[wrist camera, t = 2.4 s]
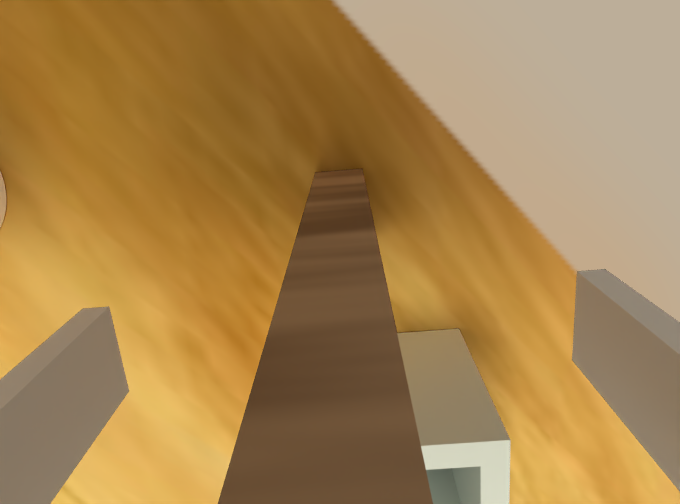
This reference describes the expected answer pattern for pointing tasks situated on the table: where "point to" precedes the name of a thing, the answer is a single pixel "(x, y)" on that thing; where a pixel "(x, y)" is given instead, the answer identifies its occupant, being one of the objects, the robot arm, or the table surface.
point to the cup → (2, 199)
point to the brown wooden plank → (330, 372)
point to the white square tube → (455, 420)
